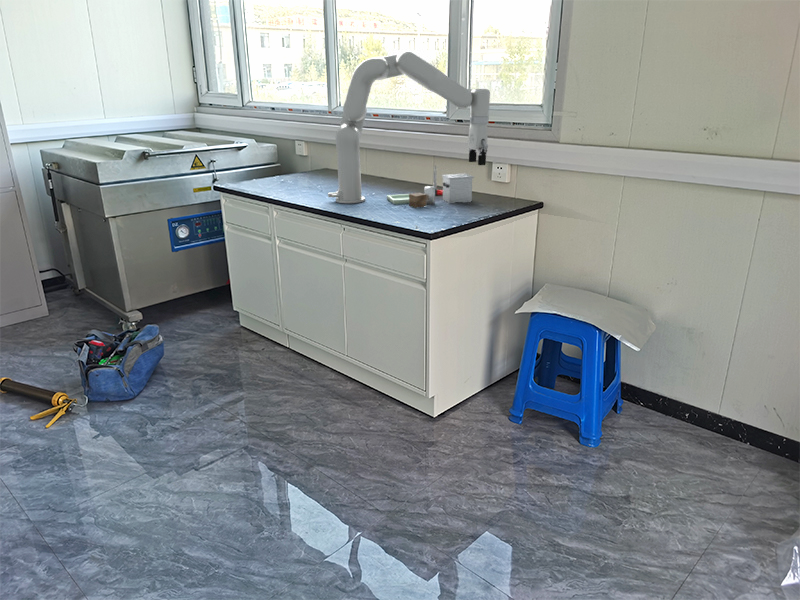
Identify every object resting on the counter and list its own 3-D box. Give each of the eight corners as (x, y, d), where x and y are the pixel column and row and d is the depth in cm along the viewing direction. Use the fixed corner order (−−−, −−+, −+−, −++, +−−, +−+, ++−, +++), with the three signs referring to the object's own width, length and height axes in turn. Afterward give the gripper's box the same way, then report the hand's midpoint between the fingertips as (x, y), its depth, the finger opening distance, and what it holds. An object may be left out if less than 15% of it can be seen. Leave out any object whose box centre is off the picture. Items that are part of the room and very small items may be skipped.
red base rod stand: (427, 192, 268) (425, 195, 260) (427, 163, 264) (425, 165, 255) (445, 192, 267) (443, 195, 258) (446, 163, 263) (444, 165, 254)
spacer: (426, 205, 239) (426, 188, 237) (422, 203, 243) (422, 186, 241) (436, 204, 240) (436, 187, 238) (432, 202, 244) (432, 185, 242)
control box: (448, 203, 242) (448, 178, 238) (441, 199, 250) (441, 174, 246) (472, 201, 244) (473, 176, 241) (464, 197, 252) (465, 173, 248)
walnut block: (415, 208, 235) (415, 196, 233) (409, 206, 239) (409, 194, 237) (426, 206, 237) (426, 194, 236) (419, 204, 241) (419, 192, 240)
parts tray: (393, 204, 241) (393, 200, 241) (386, 199, 251) (386, 195, 250) (418, 202, 244) (418, 198, 243) (411, 197, 254) (411, 193, 253)
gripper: (462, 119, 244) (460, 160, 250) (479, 122, 229) (476, 166, 235) (479, 119, 246) (477, 160, 252) (496, 122, 231) (493, 166, 237)
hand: (476, 163), depth 244 cm, fingers open, 9 cm apart
